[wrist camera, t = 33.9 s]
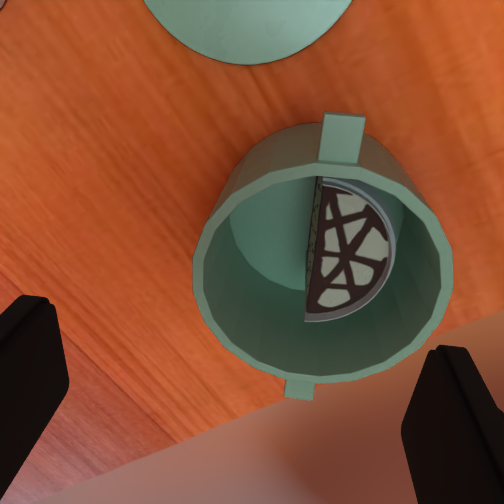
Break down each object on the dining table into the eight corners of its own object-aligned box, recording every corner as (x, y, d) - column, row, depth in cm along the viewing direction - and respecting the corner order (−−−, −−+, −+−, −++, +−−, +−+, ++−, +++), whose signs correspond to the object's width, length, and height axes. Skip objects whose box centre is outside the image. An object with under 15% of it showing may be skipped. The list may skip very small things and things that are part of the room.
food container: (366, 270, 41) (382, 335, 32) (304, 264, 42) (303, 327, 33) (392, 145, 35) (420, 184, 27) (319, 140, 36) (323, 176, 27)
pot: (219, 304, 46) (192, 391, 35) (227, 80, 35) (191, 104, 24) (381, 324, 45) (406, 420, 34) (443, 98, 34) (509, 132, 23)
